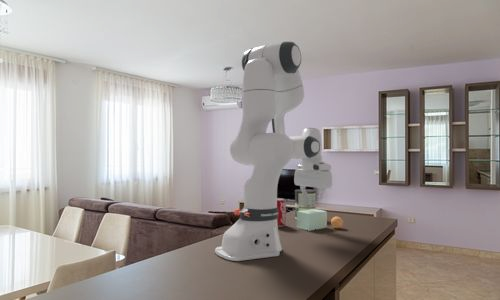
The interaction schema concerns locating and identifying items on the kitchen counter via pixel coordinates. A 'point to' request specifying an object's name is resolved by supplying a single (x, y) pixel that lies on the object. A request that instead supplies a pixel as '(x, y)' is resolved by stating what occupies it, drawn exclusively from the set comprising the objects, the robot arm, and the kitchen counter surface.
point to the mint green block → (311, 219)
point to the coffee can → (304, 200)
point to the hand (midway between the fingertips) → (312, 197)
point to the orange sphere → (336, 222)
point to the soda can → (281, 212)
